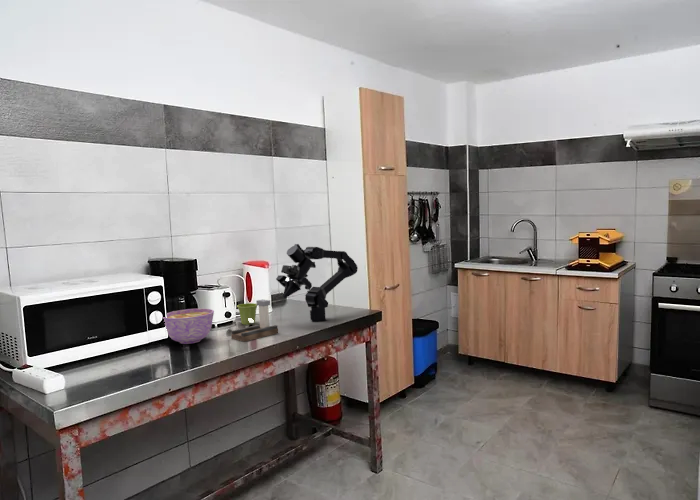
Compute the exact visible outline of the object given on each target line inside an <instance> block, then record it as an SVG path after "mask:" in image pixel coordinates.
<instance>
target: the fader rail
mask: <svg viewBox="0 0 700 500" xmlns="http://www.w3.org/2000/svg"><path fill="white" fill-rule="evenodd" d="M277 334H279V328H278V325H277V324H274V325H269V327H265V328H260V324H256V325H252V326H247V327H243V328H238V329H234V330H231V334H230V336H231V339H232V340H236V341H239V342H248V341H251V340H256V339H260V338H263V337H269V336H272V335H277Z"/></svg>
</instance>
